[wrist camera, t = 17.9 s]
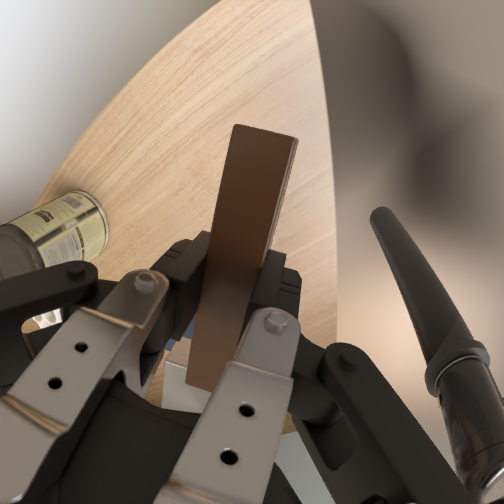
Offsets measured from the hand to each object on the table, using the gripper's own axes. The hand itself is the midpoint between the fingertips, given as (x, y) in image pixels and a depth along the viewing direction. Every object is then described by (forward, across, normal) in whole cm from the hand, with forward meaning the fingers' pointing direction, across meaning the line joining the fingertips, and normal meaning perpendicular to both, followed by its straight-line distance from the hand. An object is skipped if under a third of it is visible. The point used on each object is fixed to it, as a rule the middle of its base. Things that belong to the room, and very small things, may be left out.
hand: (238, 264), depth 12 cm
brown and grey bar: (+1, 0, +4) cm, 4 cm away
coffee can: (+23, +26, +14) cm, 38 cm away
